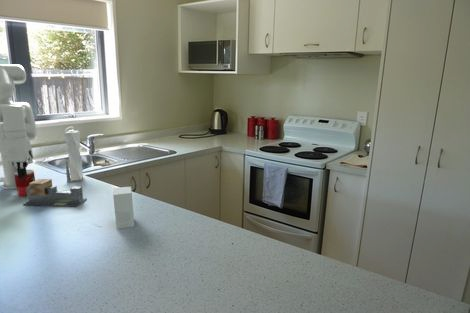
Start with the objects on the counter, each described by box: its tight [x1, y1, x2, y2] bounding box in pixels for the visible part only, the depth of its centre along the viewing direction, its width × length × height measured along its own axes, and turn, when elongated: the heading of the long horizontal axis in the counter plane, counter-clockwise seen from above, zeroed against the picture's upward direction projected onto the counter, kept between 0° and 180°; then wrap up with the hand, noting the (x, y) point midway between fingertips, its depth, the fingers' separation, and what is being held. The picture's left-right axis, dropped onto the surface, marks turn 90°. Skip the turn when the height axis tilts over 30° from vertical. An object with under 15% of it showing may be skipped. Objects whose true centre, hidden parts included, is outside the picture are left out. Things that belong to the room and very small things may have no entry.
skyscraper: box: [63, 125, 84, 183], centre depth 180 cm, size 8×8×28 cm
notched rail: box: [22, 185, 88, 208], centre depth 150 cm, size 24×9×7 cm, turn 84°
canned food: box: [14, 169, 36, 198], centre depth 160 cm, size 8×8×11 cm
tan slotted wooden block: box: [29, 178, 53, 196], centre depth 149 cm, size 6×6×6 cm
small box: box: [112, 186, 135, 230], centre depth 127 cm, size 8×6×13 cm
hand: (22, 176), depth 148 cm, fingers closed
